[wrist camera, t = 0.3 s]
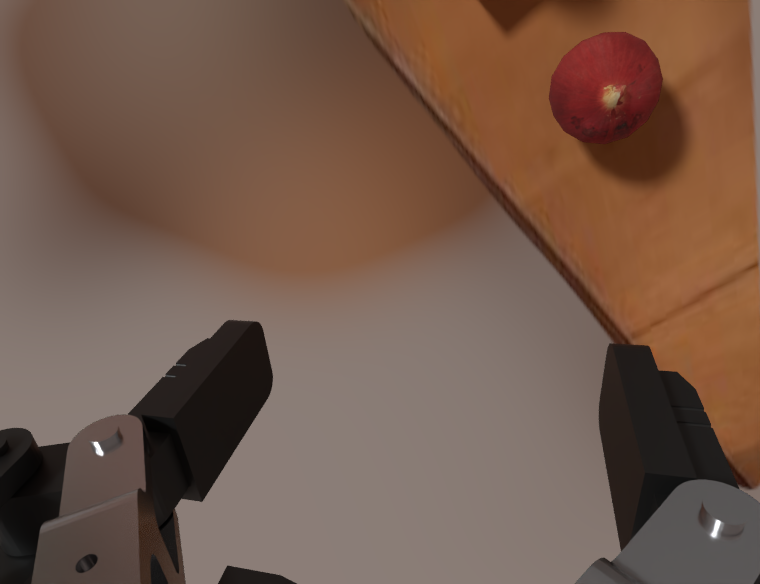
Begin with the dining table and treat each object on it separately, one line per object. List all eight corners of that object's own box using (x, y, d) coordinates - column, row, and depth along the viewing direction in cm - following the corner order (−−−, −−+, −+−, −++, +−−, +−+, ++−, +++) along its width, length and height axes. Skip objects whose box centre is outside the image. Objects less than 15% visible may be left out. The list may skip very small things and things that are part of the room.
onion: (655, 110, 33) (689, 137, 26) (560, 142, 35) (569, 175, 28) (636, 13, 31) (668, 14, 24) (536, 53, 33) (540, 65, 26)
